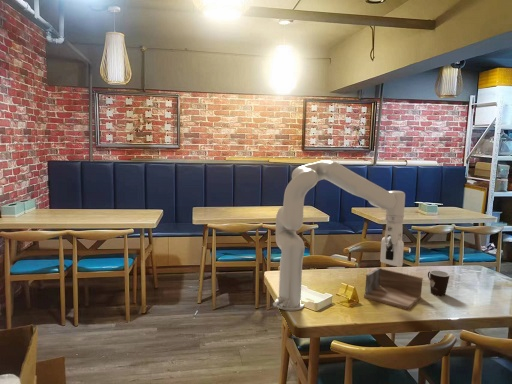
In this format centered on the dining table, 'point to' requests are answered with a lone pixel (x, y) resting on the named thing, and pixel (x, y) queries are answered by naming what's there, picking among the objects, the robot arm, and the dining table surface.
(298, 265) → the robot arm
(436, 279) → the coffee mug
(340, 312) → the dining table surface
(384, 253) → the white upright block
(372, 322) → the dining table surface
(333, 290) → the dining table surface
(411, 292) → the shelf
